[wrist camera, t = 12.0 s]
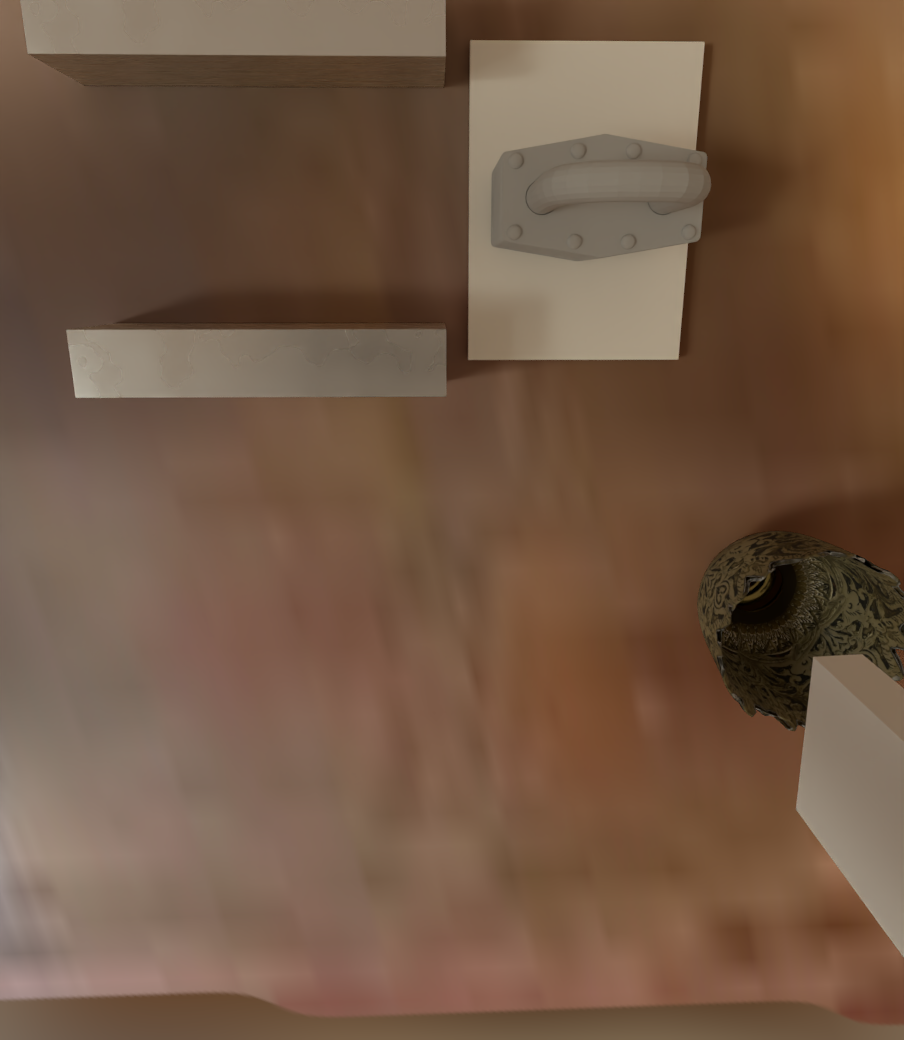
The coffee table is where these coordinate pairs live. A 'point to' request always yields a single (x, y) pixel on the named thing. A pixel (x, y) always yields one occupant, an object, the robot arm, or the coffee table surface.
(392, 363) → the vise
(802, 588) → the cup
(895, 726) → the robot arm
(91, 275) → the coffee table surface
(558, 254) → the padlock
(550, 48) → the pad
